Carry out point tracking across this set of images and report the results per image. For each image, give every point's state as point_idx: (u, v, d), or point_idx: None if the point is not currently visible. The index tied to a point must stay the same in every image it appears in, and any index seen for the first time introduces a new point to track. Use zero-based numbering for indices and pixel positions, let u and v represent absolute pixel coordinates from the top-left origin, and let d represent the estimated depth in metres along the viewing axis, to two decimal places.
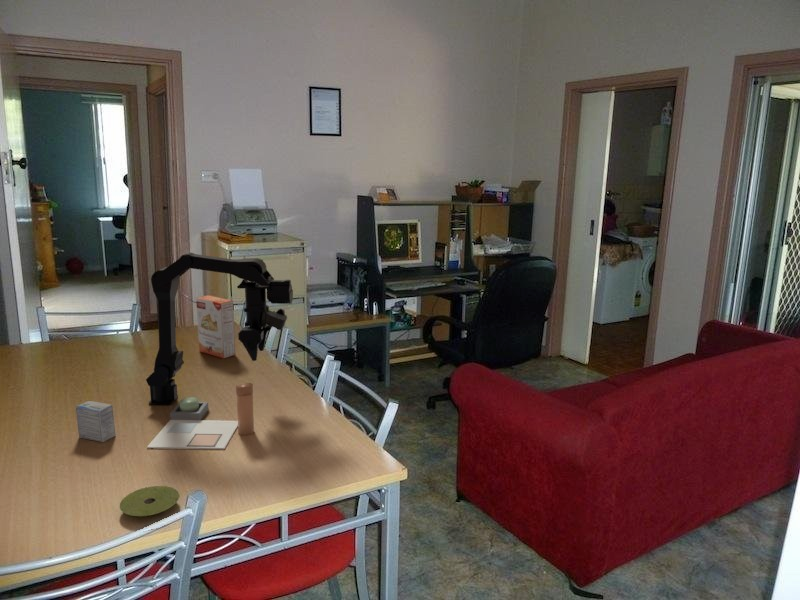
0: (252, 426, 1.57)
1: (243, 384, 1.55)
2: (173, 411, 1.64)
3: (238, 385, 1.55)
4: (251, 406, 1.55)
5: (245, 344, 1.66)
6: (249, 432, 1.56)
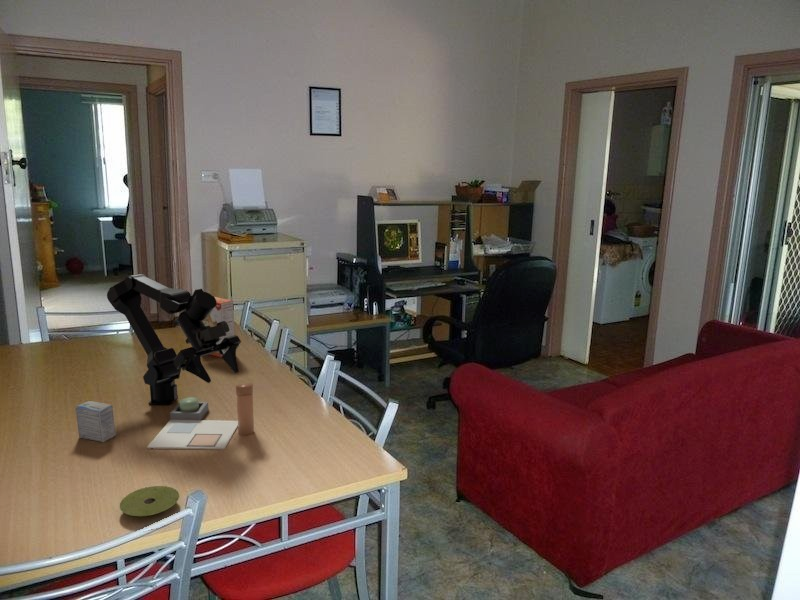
0: (252, 426, 1.57)
1: (243, 384, 1.55)
2: (173, 411, 1.64)
3: (238, 385, 1.55)
4: (251, 406, 1.55)
5: (191, 371, 1.56)
6: (249, 432, 1.56)
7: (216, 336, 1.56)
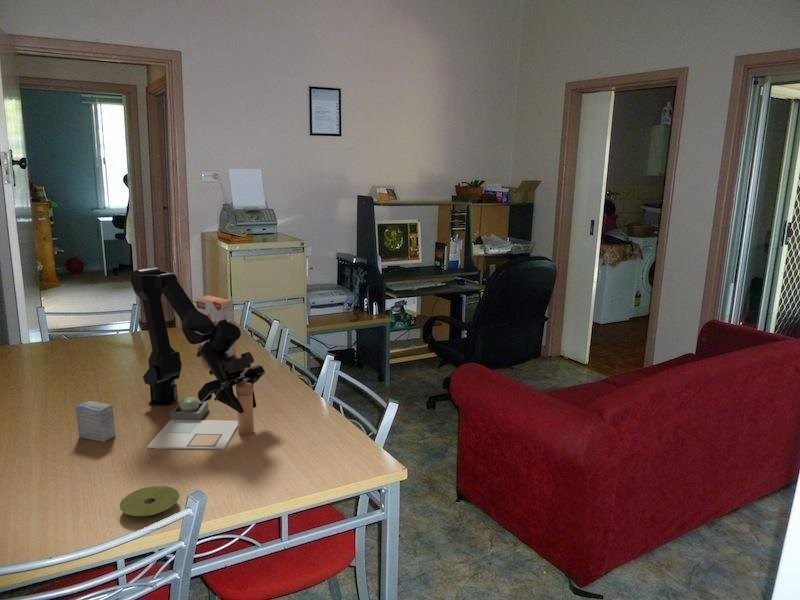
0: (252, 426, 1.57)
1: (243, 384, 1.55)
2: (173, 411, 1.64)
3: (238, 385, 1.55)
4: (251, 406, 1.55)
5: (223, 401, 1.54)
6: (249, 432, 1.56)
7: (241, 368, 1.52)
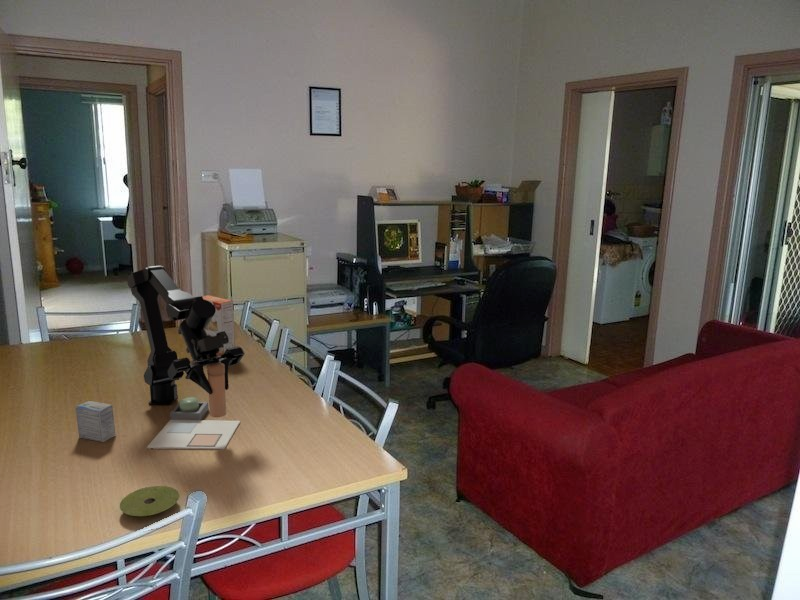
0: (223, 408, 1.51)
1: (215, 364, 1.50)
2: (173, 411, 1.64)
3: (210, 365, 1.49)
4: (222, 388, 1.49)
5: (194, 380, 1.50)
6: (219, 414, 1.50)
7: (211, 347, 1.46)
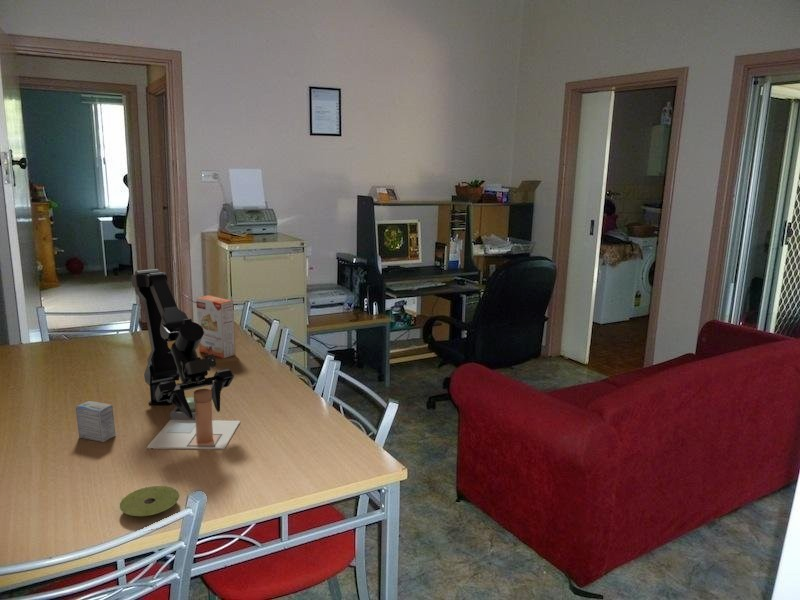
0: (209, 435, 1.50)
1: (202, 390, 1.49)
2: (173, 411, 1.64)
3: (197, 391, 1.49)
4: (208, 414, 1.48)
5: (176, 403, 1.49)
6: (205, 441, 1.50)
7: (196, 371, 1.46)
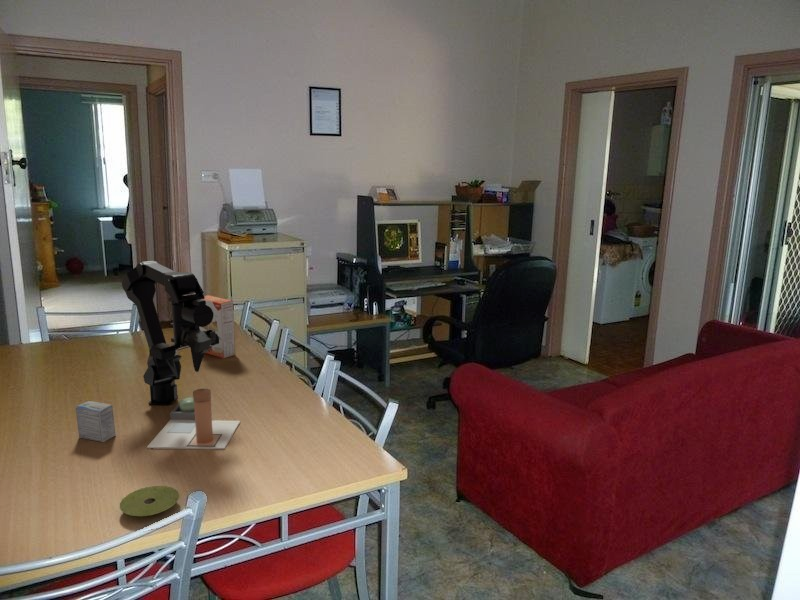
0: (209, 435, 1.50)
1: (202, 390, 1.49)
2: (173, 411, 1.64)
3: (196, 391, 1.49)
4: (207, 414, 1.49)
5: (166, 359, 1.60)
6: (205, 441, 1.50)
7: (200, 350, 1.57)
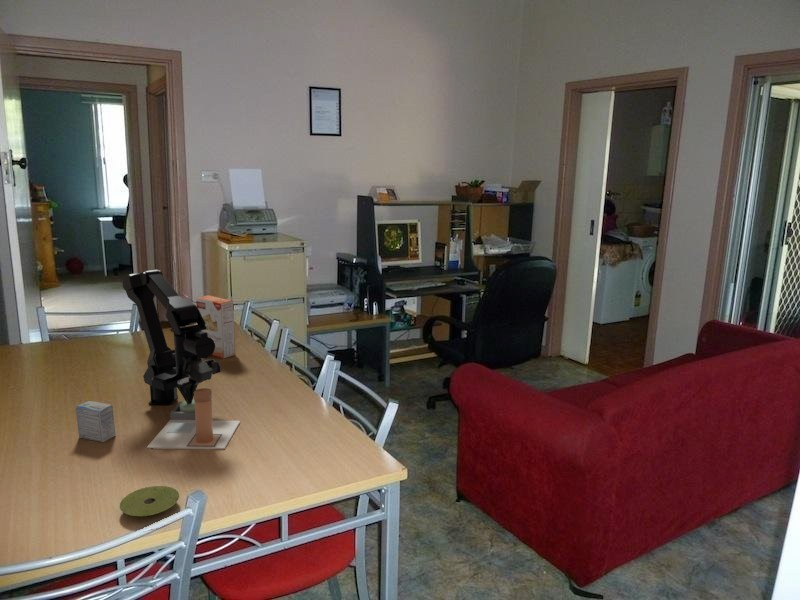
0: (209, 435, 1.50)
1: (203, 390, 1.50)
2: (173, 411, 1.64)
3: (197, 390, 1.49)
4: (208, 414, 1.49)
5: (177, 386, 1.64)
6: (205, 440, 1.50)
7: (201, 381, 1.59)
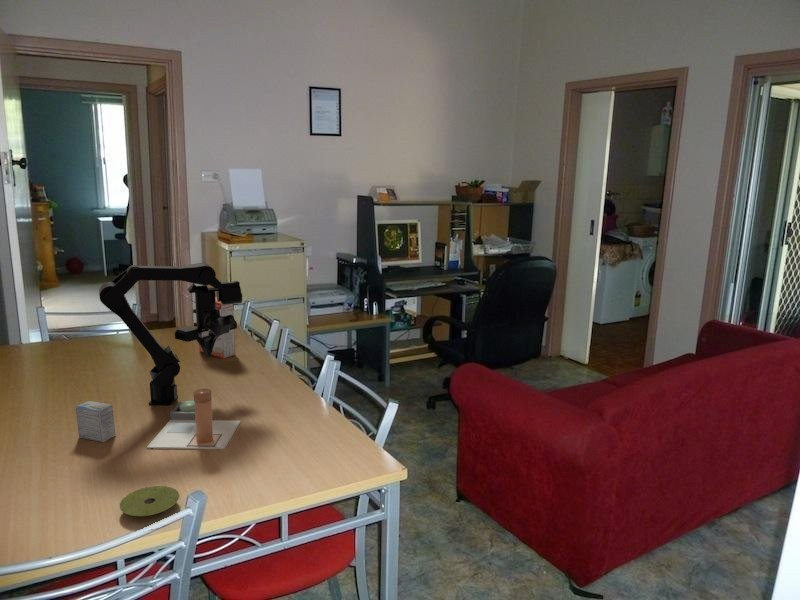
0: (209, 435, 1.50)
1: (202, 390, 1.49)
2: (173, 411, 1.64)
3: (197, 391, 1.49)
4: (207, 414, 1.49)
5: (197, 340, 1.78)
6: (205, 441, 1.50)
7: (220, 334, 1.73)
